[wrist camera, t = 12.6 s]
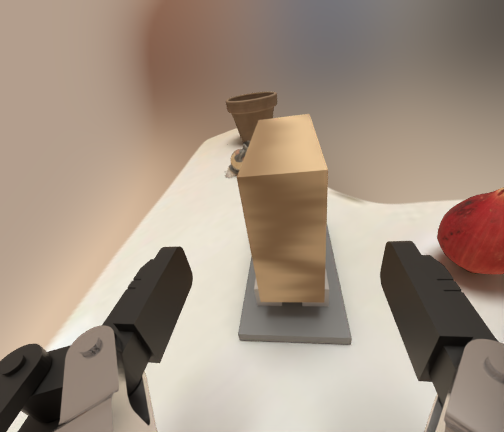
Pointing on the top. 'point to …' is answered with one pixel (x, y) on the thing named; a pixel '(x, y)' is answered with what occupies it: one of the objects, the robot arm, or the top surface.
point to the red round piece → (475, 233)
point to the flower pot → (251, 111)
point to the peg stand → (297, 313)
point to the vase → (237, 160)
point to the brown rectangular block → (286, 209)
